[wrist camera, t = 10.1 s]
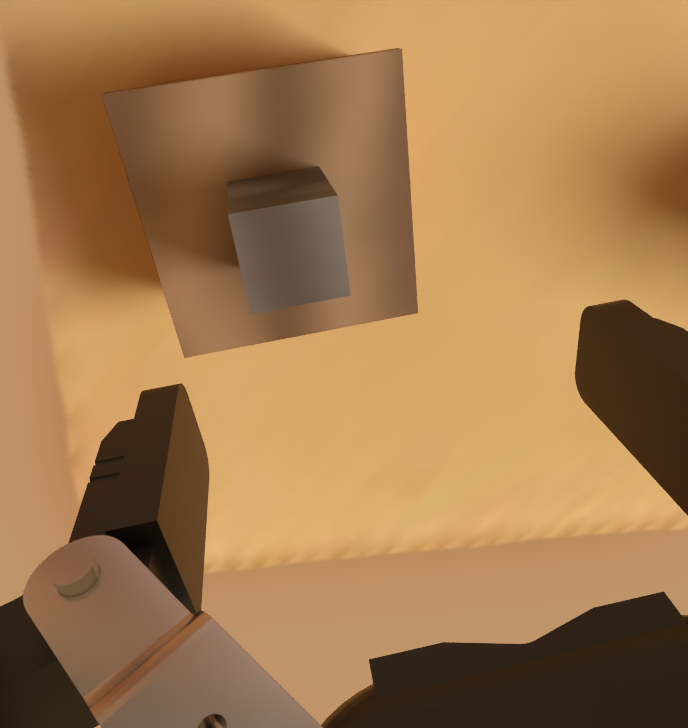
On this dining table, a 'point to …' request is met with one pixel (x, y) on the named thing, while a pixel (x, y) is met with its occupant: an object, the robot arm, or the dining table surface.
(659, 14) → the dining table surface
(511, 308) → the dining table surface
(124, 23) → the dining table surface
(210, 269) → the lid
